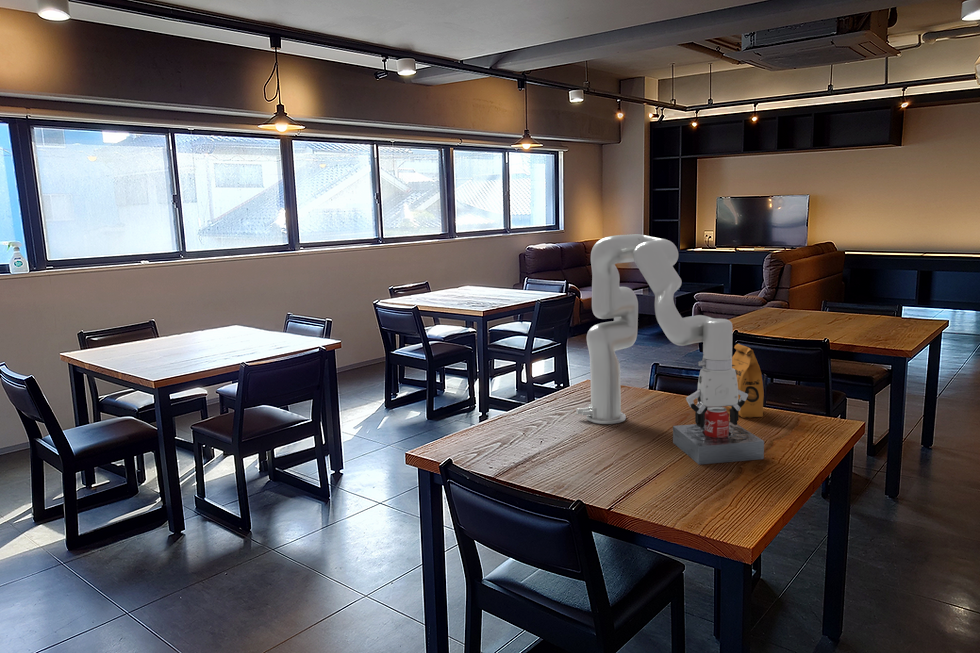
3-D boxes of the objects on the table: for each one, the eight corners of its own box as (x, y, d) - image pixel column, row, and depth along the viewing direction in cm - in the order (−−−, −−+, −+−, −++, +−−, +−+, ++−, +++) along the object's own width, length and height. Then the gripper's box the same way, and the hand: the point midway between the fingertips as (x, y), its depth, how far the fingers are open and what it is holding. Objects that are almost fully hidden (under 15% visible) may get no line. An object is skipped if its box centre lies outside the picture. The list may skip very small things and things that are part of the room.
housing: (698, 464, 180) (698, 446, 179) (672, 442, 198) (672, 425, 197) (763, 459, 182) (764, 441, 181) (732, 437, 200) (732, 421, 199)
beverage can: (708, 445, 194) (709, 404, 192) (731, 449, 190) (732, 407, 188) (701, 452, 189) (701, 410, 187) (724, 456, 185) (724, 413, 183)
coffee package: (736, 419, 217) (737, 351, 213) (723, 408, 229) (723, 343, 225) (767, 417, 217) (769, 349, 213) (752, 407, 229) (754, 342, 225)
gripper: (692, 369, 181) (692, 431, 184) (754, 365, 183) (753, 426, 186) (681, 363, 189) (681, 423, 191) (741, 359, 190) (740, 418, 193)
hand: (716, 425), depth 189 cm, fingers open, 9 cm apart
